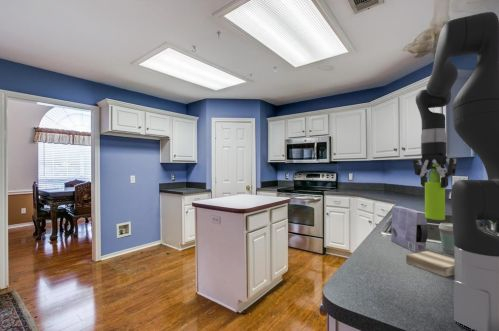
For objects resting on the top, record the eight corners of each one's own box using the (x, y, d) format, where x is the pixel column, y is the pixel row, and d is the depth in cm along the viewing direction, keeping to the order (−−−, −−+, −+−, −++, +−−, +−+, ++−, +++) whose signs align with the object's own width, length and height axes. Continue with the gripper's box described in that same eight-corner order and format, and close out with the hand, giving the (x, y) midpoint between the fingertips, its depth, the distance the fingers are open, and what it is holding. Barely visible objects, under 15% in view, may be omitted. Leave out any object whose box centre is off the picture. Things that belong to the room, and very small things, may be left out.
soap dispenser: (427, 219, 86) (427, 164, 87) (423, 216, 92) (423, 164, 93) (447, 221, 84) (447, 164, 84) (442, 217, 90) (442, 164, 90)
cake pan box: (429, 254, 101) (428, 212, 101) (417, 254, 101) (416, 212, 101) (400, 241, 120) (400, 205, 120) (390, 240, 120) (390, 205, 120)
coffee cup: (461, 251, 105) (461, 224, 105) (467, 257, 97) (466, 228, 98) (437, 248, 109) (436, 221, 109) (440, 253, 102) (440, 225, 102)
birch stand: (444, 276, 79) (444, 267, 80) (406, 262, 92) (406, 254, 92) (467, 270, 84) (467, 262, 84) (428, 258, 96) (427, 250, 96)
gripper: (407, 143, 94) (407, 186, 94) (449, 139, 81) (450, 188, 80) (419, 144, 97) (420, 185, 97) (462, 140, 84) (463, 188, 83)
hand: (434, 187), depth 89 cm, fingers closed on soap dispenser, 6 cm apart
